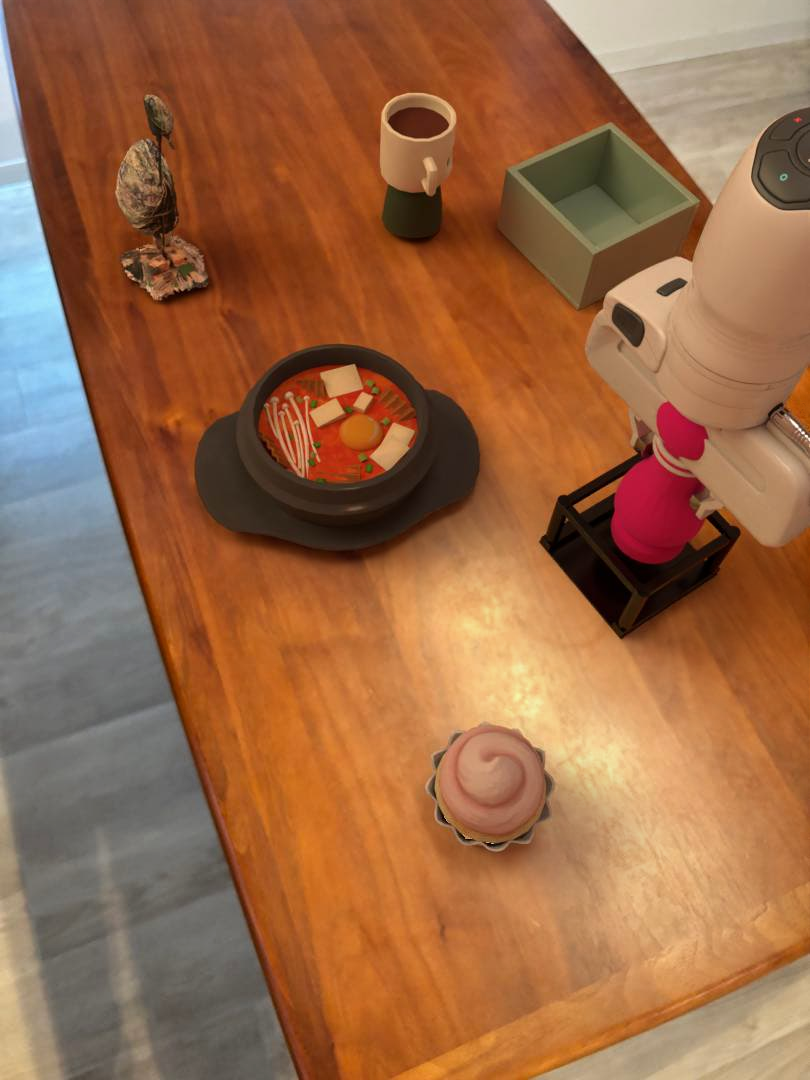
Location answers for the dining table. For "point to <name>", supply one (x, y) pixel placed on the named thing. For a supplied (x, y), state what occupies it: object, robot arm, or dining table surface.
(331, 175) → the dining table surface
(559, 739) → the dining table surface
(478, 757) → the cupcake
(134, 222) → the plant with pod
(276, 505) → the casserole
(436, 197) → the character mug
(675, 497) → the pepper mill
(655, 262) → the open square box
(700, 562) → the black open frame holder
